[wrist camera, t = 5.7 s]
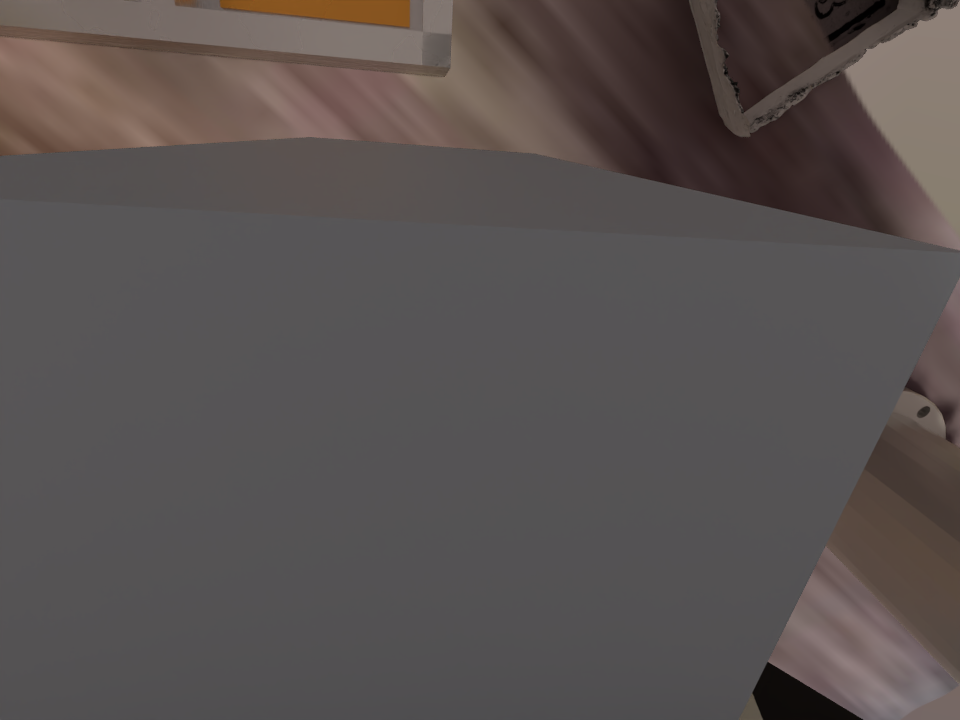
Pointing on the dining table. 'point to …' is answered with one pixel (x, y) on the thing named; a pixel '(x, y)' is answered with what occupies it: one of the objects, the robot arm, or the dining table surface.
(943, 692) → the dining table surface
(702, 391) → the grey block
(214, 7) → the grey open box
